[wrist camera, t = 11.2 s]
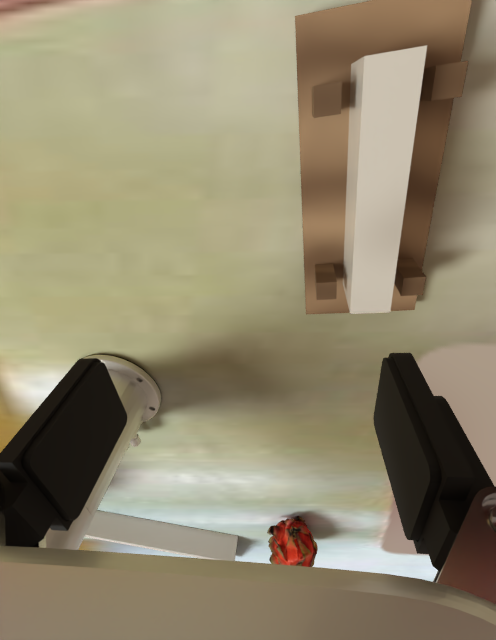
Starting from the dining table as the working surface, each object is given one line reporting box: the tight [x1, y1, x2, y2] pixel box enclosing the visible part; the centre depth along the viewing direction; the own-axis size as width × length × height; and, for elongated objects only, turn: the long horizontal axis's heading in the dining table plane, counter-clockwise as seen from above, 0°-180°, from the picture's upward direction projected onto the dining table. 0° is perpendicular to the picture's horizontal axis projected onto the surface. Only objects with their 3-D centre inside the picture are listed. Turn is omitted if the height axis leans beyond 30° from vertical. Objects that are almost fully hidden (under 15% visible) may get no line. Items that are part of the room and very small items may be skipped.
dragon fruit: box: [267, 516, 317, 567], centre depth 58 cm, size 8×8×12 cm
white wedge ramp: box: [84, 510, 238, 561], centre depth 70 cm, size 34×5×10 cm
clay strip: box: [343, 45, 427, 314], centre depth 23 cm, size 16×3×5 cm, turn 8°
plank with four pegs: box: [295, 0, 472, 314], centre depth 24 cm, size 22×10×5 cm, turn 8°
